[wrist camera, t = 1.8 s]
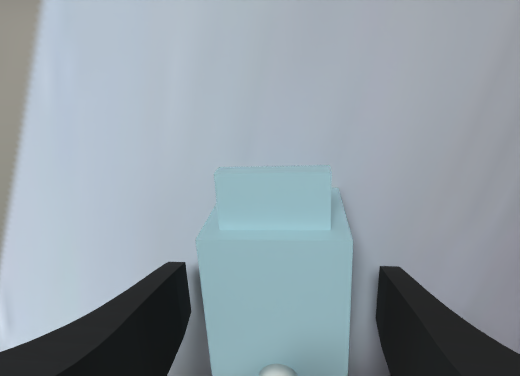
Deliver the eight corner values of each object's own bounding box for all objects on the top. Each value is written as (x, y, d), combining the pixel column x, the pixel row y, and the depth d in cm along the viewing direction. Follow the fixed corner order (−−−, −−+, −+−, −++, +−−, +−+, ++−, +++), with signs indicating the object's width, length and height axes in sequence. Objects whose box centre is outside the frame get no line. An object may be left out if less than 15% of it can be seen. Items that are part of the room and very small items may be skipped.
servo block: (338, 141, 12) (360, 191, 8) (333, 357, 15) (347, 483, 11) (221, 144, 13) (178, 192, 8) (239, 353, 16) (215, 472, 11)
